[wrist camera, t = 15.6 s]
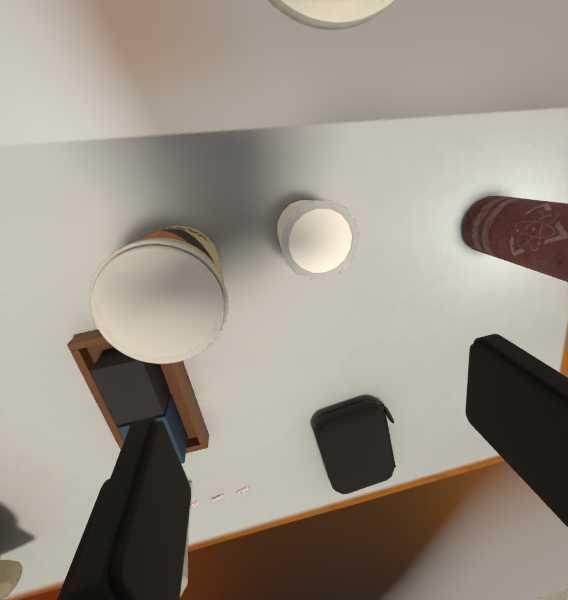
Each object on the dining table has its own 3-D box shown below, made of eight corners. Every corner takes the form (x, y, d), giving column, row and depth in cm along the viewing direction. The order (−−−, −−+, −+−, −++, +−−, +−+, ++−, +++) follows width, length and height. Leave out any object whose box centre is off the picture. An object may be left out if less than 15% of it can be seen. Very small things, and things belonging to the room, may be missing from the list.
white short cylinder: (264, 253, 35) (273, 273, 28) (279, 186, 32) (291, 191, 26) (325, 264, 36) (346, 286, 30) (343, 201, 34) (370, 210, 27)
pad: (103, 349, 35) (89, 371, 32) (150, 339, 36) (141, 359, 32) (127, 400, 38) (116, 425, 34) (170, 390, 38) (164, 414, 35)
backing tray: (75, 334, 35) (66, 344, 33) (166, 314, 35) (162, 323, 34) (134, 453, 42) (129, 467, 40) (208, 435, 42) (208, 447, 41)
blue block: (128, 403, 38) (117, 428, 34) (171, 392, 39) (165, 416, 35) (148, 446, 41) (140, 474, 37) (188, 436, 41) (184, 463, 38)
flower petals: (148, 522, 47) (147, 526, 46) (143, 513, 46) (142, 517, 45) (251, 492, 48) (251, 496, 47) (247, 483, 47) (247, 486, 46)
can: (464, 259, 39) (581, 306, 26) (457, 207, 36) (583, 231, 23) (512, 240, 39) (652, 277, 26) (508, 187, 36) (662, 199, 23)
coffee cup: (223, 213, 32) (220, 238, 21) (232, 301, 36) (233, 360, 25) (124, 218, 31) (67, 248, 20) (143, 308, 35) (104, 374, 24)
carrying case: (397, 461, 50) (383, 387, 44) (407, 479, 47) (394, 402, 41) (331, 484, 50) (308, 412, 44) (337, 503, 47) (313, 429, 41)
